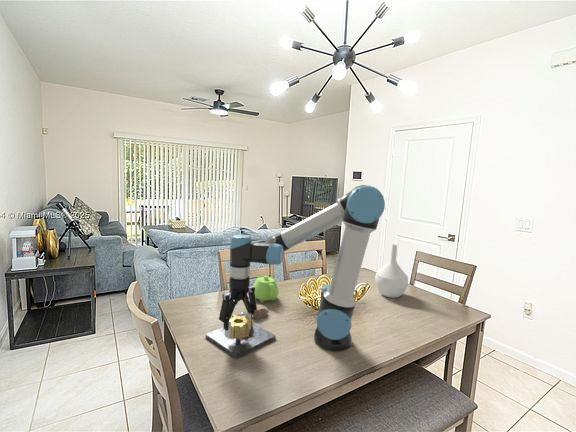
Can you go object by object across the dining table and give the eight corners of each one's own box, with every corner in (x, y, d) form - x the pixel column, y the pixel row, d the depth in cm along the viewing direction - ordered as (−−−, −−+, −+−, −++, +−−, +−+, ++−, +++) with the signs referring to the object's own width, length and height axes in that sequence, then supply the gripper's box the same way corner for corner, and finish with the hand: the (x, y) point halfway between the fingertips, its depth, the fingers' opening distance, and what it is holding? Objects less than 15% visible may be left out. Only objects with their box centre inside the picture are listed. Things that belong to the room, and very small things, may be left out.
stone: (252, 320, 139) (252, 310, 138) (244, 310, 149) (244, 300, 149) (270, 317, 143) (270, 307, 142) (261, 307, 153) (261, 298, 153)
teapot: (246, 293, 170) (247, 272, 168) (268, 290, 176) (269, 269, 174) (261, 308, 152) (262, 283, 151) (284, 303, 159) (285, 280, 157)
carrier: (275, 338, 124) (276, 319, 123) (236, 358, 109) (236, 336, 108) (244, 321, 137) (244, 303, 136) (205, 337, 123) (205, 317, 121)
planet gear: (254, 333, 117) (254, 321, 116) (235, 342, 110) (236, 329, 110) (239, 325, 123) (240, 313, 122) (221, 332, 116) (221, 320, 116)
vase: (369, 288, 186) (373, 241, 182) (397, 289, 188) (402, 241, 184) (381, 301, 168) (386, 248, 164) (412, 301, 170) (418, 249, 166)
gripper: (255, 268, 124) (253, 320, 127) (209, 279, 108) (208, 339, 111) (267, 272, 119) (265, 327, 122) (221, 285, 103) (220, 347, 106)
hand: (238, 332), depth 116 cm, fingers closed on planet gear, 9 cm apart
